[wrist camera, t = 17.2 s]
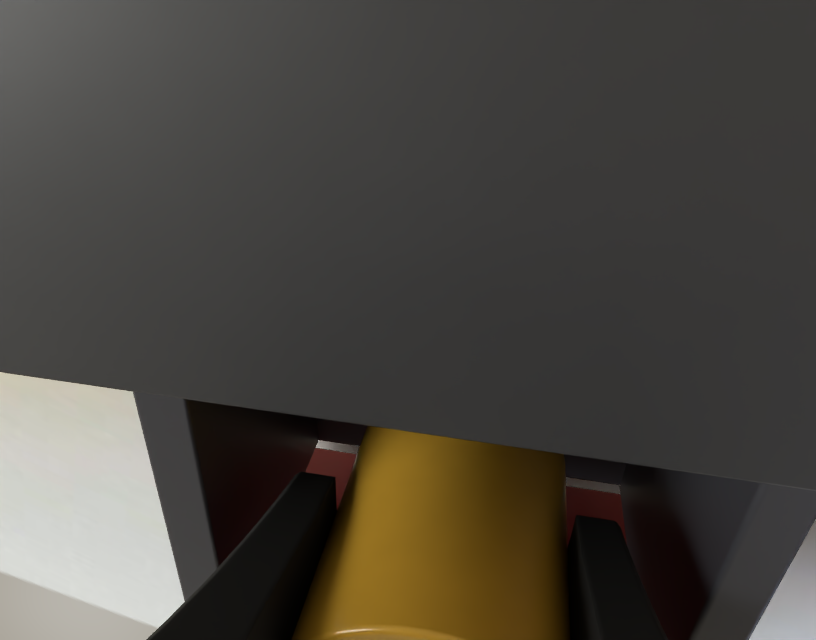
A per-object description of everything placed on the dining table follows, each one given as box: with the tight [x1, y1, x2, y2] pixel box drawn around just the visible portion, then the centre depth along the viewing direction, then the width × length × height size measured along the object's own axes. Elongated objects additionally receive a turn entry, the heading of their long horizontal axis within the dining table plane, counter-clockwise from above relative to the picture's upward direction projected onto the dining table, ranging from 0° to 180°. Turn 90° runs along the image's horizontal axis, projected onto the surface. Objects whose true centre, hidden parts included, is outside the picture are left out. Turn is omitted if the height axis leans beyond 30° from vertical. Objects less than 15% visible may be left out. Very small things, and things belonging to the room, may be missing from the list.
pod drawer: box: [133, 391, 816, 640], centre depth 13 cm, size 17×10×7 cm, turn 178°
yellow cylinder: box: [291, 426, 571, 640], centre depth 11 cm, size 4×4×5 cm
